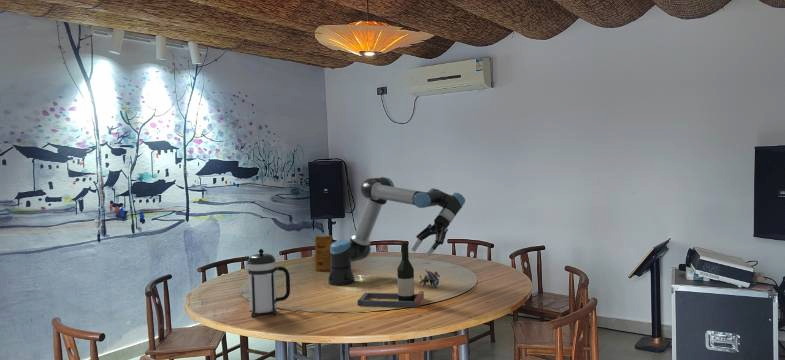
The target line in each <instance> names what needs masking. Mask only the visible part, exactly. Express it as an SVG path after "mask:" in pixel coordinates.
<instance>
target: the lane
mask: <svg viewBox="0 0 785 360" xmlns="http://www.w3.org/2000/svg"><path fill="white" fill-rule="evenodd" d="M424 292H425V291H424V290H419V292H418V293H414V298H415V301H398V292H397V293H394V292H392V293H390V292H364V293H363V294H362V295H361V296H360V297H359V298H358V299H357V306H358V307H385V308H386V307H387V308H388V307H391V308H394V307H395V308H399V307H400V308H420V307H421V305H422V304H421V303H423V302H424V300H423V299H425V298H424V297H425V295H424V294H425V293H424ZM375 299H378V300H375ZM379 299H380V300H379ZM383 299H385V300H383ZM387 299H389V300H387ZM422 301H423V302H422Z"/></svg>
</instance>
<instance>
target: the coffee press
mask: <svg viewBox="0 0 785 360" xmlns="http://www.w3.org/2000/svg"><path fill="white" fill-rule="evenodd" d="M264 252H265V251H264V249H263V248H260V249H259V250H258V253H256V254H253V255H251V256H249V257H248V259H247V260H246V263H245V265H244V267H243V268H247V274H248V294H249V297H248V298H249V311H250V312H251V314H250V316H251V317H252V318H256V316H257V314H265V313H267V314H268V313H270V314H272V316H275V315H277V313H278V312H277V310H276V308H277V302H283V301H285V300H287V299H288V298H289V296H290V294H291V282H290V281H291V277H290V272H289V270H288V269H287V268H286V267H285V266H276V262H277V261H276V258H275V255H273V254H270V253H264ZM277 271H279V272H280V271H281V272H283V273H284V275H285V288H286V289H285V294H284V295H283V296H279V297H277V290H276V289H277V288H276V286H277V284H276V272H277Z"/></svg>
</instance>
